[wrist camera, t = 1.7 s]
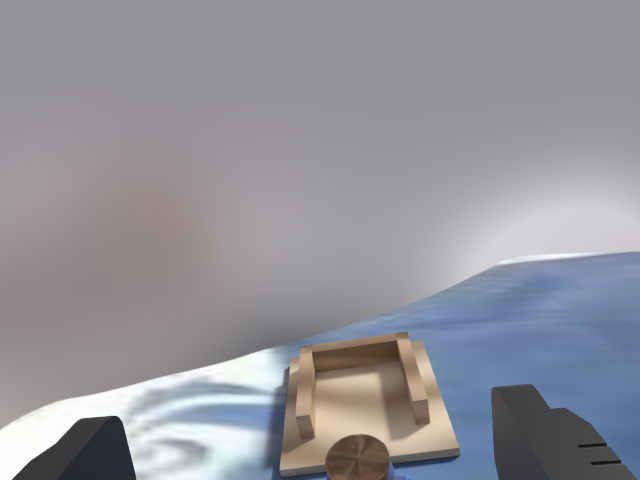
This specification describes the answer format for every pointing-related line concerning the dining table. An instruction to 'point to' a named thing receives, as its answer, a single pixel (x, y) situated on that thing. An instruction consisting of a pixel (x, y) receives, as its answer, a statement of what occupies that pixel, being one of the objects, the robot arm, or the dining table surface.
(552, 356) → the dining table surface
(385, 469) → the perfume bottle
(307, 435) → the u cradle
